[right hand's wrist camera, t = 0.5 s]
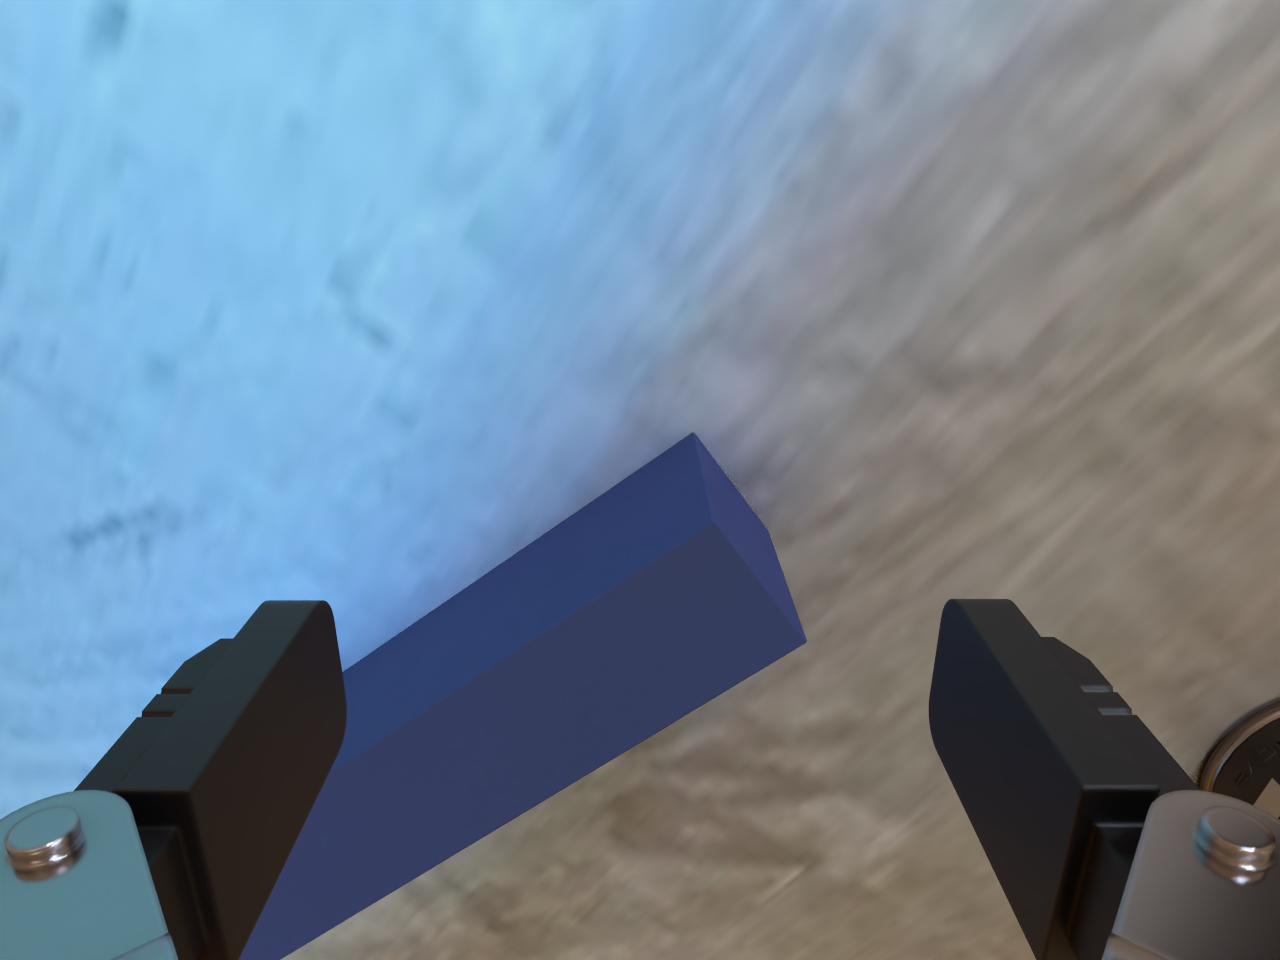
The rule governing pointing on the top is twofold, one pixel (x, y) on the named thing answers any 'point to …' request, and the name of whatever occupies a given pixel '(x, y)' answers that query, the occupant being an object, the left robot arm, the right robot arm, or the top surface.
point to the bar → (535, 684)
